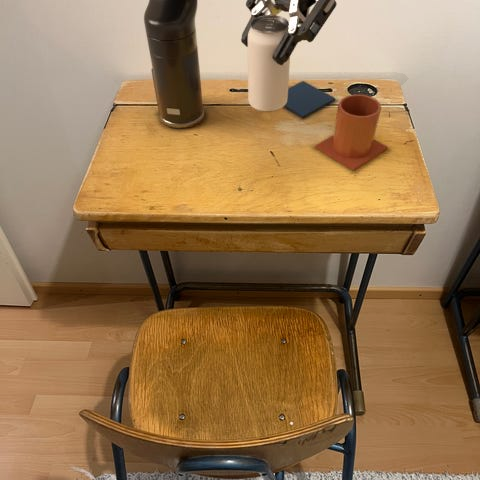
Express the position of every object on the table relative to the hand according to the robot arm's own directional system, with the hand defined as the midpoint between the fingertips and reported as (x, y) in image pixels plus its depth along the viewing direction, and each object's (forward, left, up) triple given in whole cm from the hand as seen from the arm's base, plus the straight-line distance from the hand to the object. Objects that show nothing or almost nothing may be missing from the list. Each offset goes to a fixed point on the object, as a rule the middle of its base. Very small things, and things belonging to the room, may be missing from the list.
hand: (261, 53), depth 70 cm
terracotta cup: (+6, +19, -22) cm, 30 cm away
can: (0, +2, -9) cm, 9 cm away
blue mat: (-13, +24, -22) cm, 35 cm away
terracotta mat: (+6, +19, -22) cm, 30 cm away
